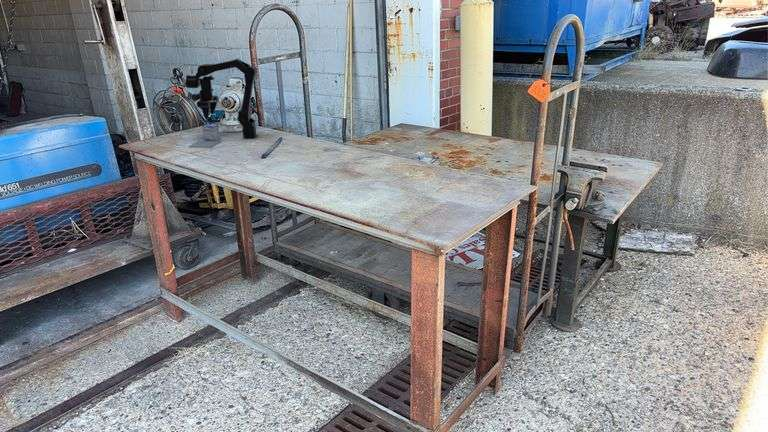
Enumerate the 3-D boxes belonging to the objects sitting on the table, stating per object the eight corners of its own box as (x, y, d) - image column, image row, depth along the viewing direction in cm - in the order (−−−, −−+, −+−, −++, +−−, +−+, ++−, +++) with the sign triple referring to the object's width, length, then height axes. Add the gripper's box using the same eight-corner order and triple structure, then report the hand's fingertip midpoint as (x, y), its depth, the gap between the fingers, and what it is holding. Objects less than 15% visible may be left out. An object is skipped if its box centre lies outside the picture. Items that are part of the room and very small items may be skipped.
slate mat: (220, 141, 303) (220, 141, 302) (211, 147, 292) (210, 147, 292) (199, 141, 305) (198, 140, 305) (188, 147, 294) (188, 146, 294)
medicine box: (203, 141, 305) (201, 125, 302) (208, 139, 309) (205, 124, 306) (216, 141, 303) (214, 126, 300) (220, 139, 307) (218, 124, 304)
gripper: (197, 85, 309) (201, 112, 315) (185, 90, 292) (189, 119, 298) (217, 85, 309) (220, 113, 315) (206, 91, 292) (209, 120, 298)
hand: (209, 116), depth 306 cm, fingers open, 9 cm apart
